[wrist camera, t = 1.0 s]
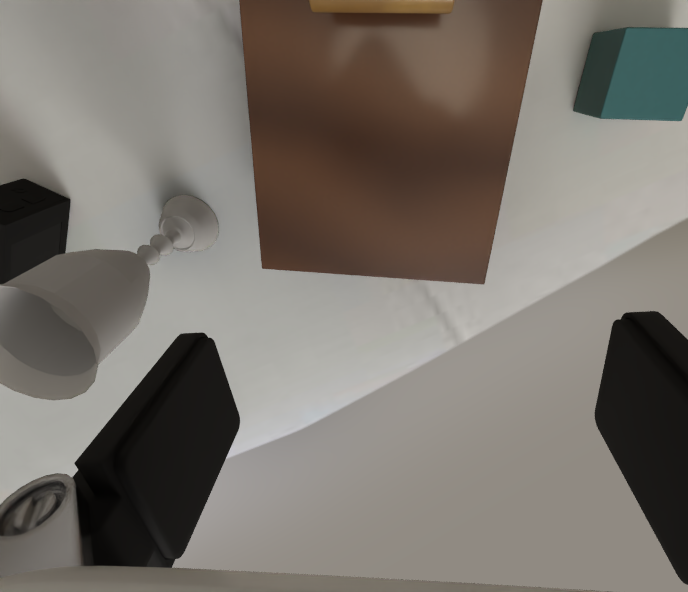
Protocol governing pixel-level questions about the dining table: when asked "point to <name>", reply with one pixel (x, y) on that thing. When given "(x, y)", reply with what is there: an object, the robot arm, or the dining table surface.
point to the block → (636, 75)
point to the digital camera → (30, 227)
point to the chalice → (86, 305)
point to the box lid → (383, 131)
